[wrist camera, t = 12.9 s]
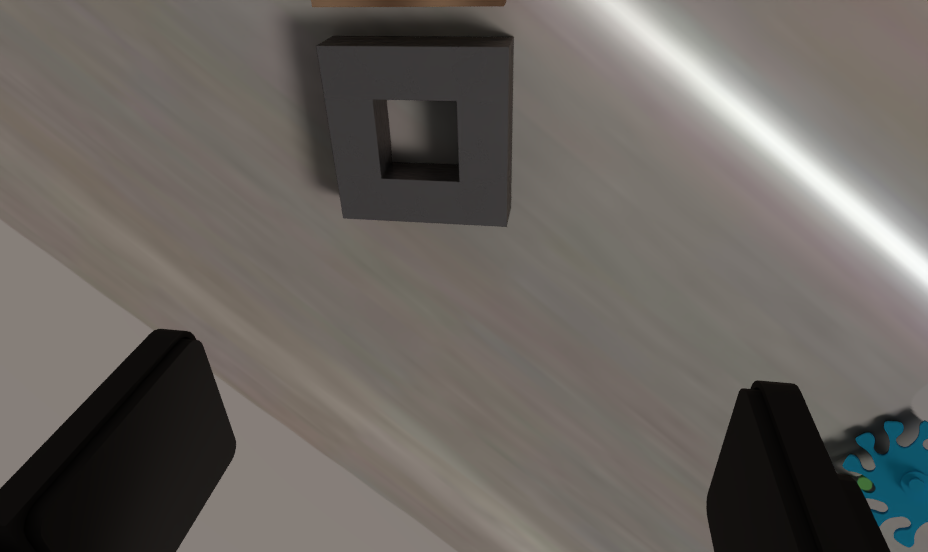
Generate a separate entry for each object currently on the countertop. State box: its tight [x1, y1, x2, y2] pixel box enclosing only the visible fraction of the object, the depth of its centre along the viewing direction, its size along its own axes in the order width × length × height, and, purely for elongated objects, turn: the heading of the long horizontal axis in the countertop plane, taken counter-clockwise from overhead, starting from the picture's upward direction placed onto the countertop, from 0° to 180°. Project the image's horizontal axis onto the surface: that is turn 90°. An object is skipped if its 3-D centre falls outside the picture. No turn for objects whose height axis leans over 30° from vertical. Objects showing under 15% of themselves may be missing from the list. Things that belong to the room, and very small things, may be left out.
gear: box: [842, 421, 928, 547], centre depth 49 cm, size 11×6×10 cm
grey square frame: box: [316, 36, 514, 227], centre depth 40 cm, size 12×12×3 cm
